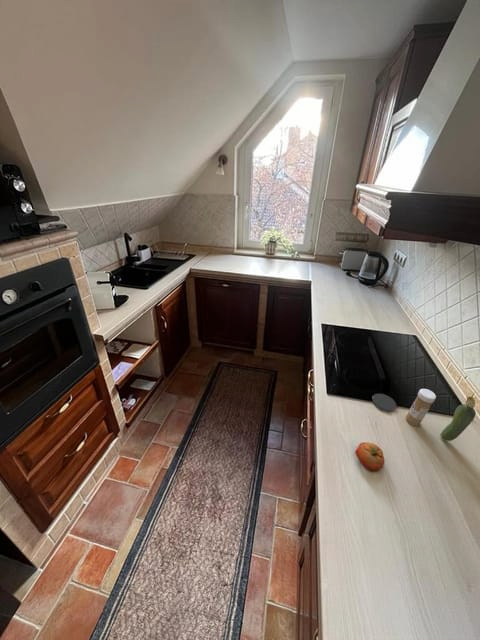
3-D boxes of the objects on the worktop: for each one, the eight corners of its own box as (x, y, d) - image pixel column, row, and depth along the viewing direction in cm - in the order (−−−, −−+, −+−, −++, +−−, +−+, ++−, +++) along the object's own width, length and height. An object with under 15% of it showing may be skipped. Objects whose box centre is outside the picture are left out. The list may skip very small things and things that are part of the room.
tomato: (359, 470, 71) (363, 443, 73) (349, 461, 78) (352, 436, 79) (388, 477, 71) (391, 450, 72) (375, 467, 78) (378, 443, 79)
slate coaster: (388, 394, 98) (388, 393, 98) (400, 411, 91) (400, 410, 91) (368, 395, 98) (368, 393, 97) (378, 412, 91) (379, 410, 91)
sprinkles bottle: (402, 414, 90) (417, 387, 83) (416, 416, 90) (431, 388, 83) (409, 426, 86) (424, 398, 79) (423, 427, 86) (439, 399, 79)
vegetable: (453, 439, 82) (484, 395, 72) (454, 450, 79) (488, 406, 69) (436, 433, 84) (465, 389, 74) (437, 443, 81) (467, 399, 71)
